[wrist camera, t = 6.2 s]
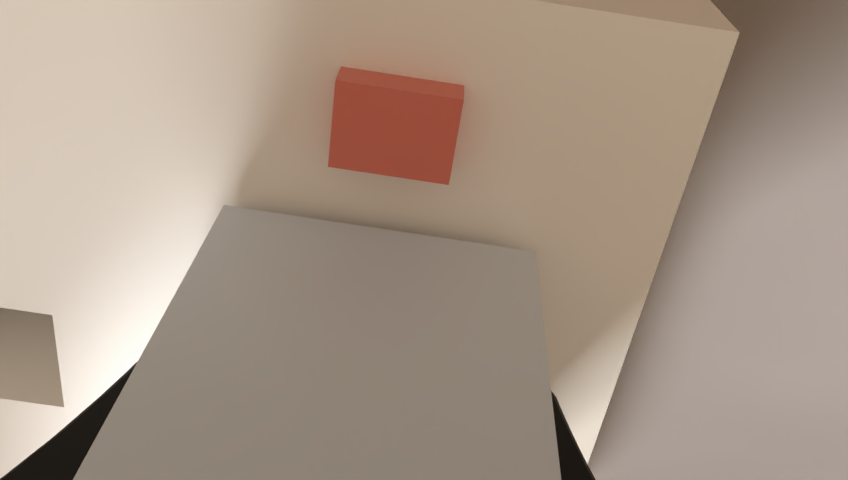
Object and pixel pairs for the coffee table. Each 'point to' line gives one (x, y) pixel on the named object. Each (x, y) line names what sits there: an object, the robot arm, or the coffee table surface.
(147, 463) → the plug
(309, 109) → the socket board
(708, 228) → the coffee table surface
